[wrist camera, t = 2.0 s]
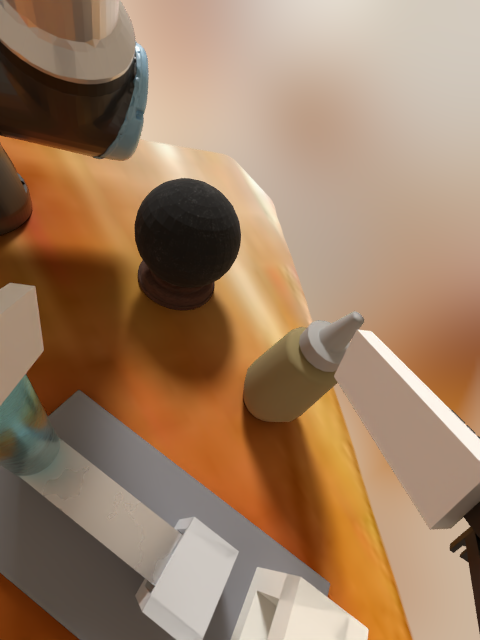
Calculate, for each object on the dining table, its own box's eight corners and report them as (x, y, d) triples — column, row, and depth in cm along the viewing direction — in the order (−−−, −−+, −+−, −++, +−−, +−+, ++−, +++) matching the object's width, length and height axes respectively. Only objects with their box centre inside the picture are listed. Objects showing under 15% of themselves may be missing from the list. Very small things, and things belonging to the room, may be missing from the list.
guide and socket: (-61, 517, 20) (-136, 510, 14) (79, 393, 28) (71, 353, 22) (275, 799, 19) (362, 936, 12) (324, 581, 27) (391, 597, 20)
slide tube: (9, 468, 22) (-177, 345, 8) (46, 434, 24) (-44, 286, 10) (165, 594, 21) (291, 728, 7) (190, 547, 23) (326, 571, 9)
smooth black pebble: (186, 242, 48) (210, 153, 37) (235, 296, 44) (278, 217, 33) (112, 261, 40) (113, 155, 28) (164, 330, 36) (189, 240, 25)
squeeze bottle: (294, 436, 34) (414, 373, 21) (231, 425, 32) (320, 348, 19) (290, 376, 39) (385, 294, 26) (236, 363, 37) (308, 268, 24)
